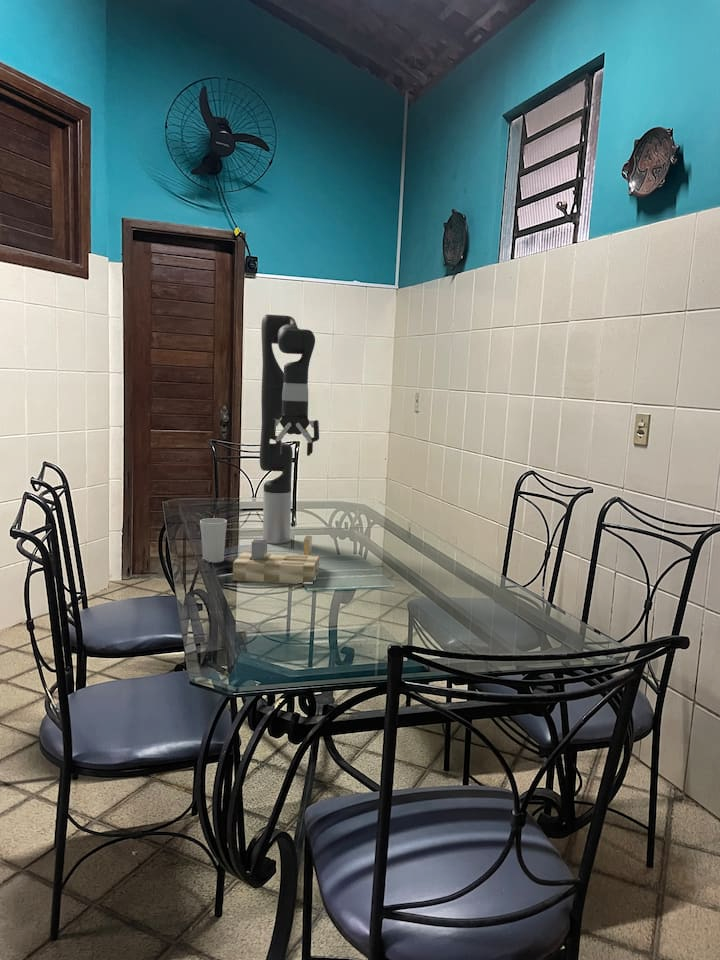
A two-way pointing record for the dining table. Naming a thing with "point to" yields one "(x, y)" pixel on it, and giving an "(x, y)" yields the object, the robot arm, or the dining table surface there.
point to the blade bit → (307, 545)
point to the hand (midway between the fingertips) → (294, 454)
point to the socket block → (276, 568)
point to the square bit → (259, 550)
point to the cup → (213, 539)
